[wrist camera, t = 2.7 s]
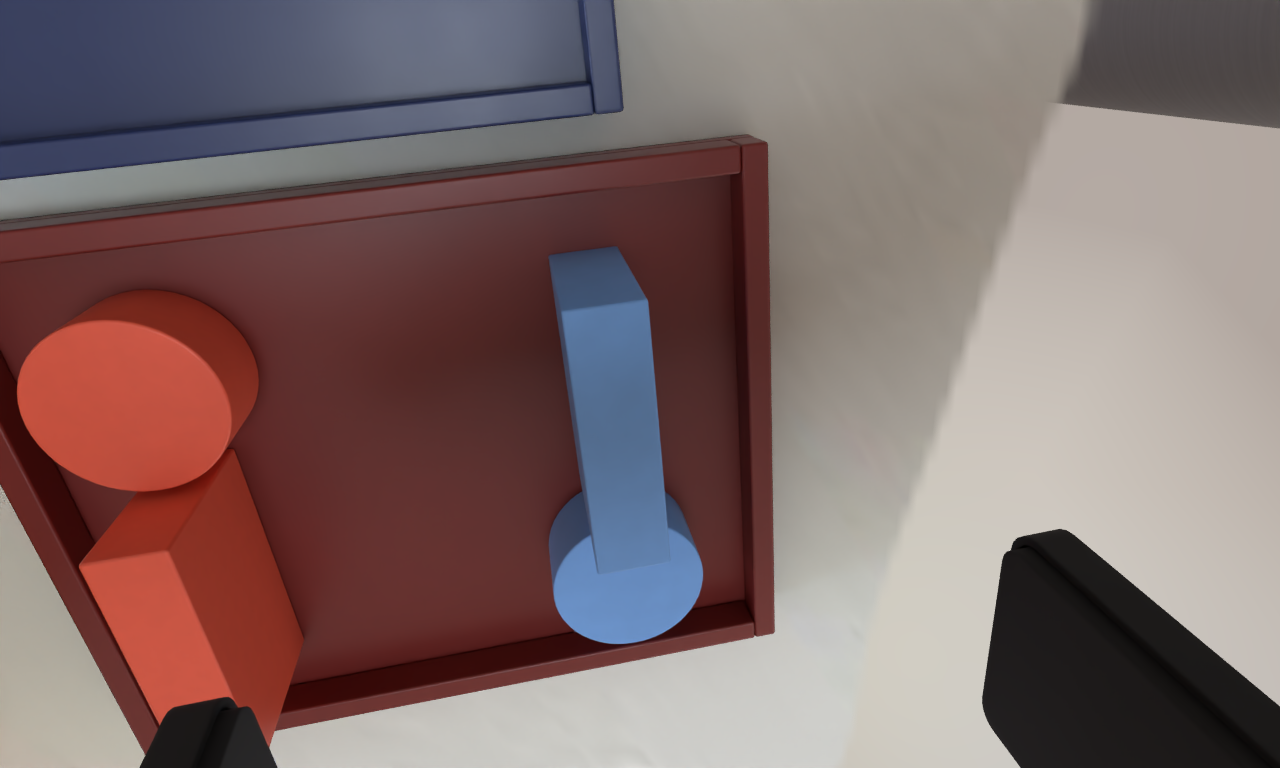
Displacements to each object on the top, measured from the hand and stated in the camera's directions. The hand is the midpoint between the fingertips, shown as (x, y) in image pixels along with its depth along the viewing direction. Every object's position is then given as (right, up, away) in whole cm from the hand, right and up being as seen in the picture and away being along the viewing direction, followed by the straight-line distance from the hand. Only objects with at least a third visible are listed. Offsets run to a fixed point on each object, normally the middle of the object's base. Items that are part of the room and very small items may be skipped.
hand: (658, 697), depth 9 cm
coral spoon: (-10, +1, +9) cm, 14 cm away
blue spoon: (-1, +3, +10) cm, 10 cm away
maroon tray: (-6, +2, +10) cm, 11 cm away
